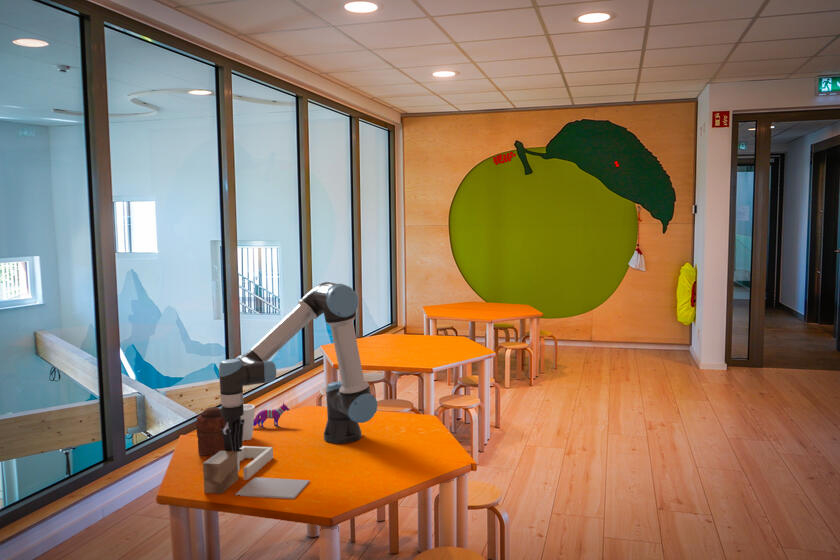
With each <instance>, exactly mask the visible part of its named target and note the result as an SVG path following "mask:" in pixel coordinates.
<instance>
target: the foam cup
mask: <svg viewBox="0 0 840 560" xmlns="http://www.w3.org/2000/svg"><path fill="white" fill-rule="evenodd" d="M242 404H243V409H244V414H243V415H242V416H241V419H244V425H243V439H242V442H245V441H244V440H247V441H250V440H252V439H253V433H254V426H253V424H254V419H255V413H256V406H255V405H254V404H250V403H247V404H246V403H242ZM251 438H252V439H251Z"/></svg>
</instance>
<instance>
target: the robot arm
mask: <svg viewBox="0 0 840 560" xmlns="http://www.w3.org/2000/svg"><path fill="white" fill-rule="evenodd" d="M358 297H359V296H358V295H357V293H356V292H355V290H354V289H353V288H352V287H350V286H348V285H346V284H345V283H344V284H343V283H336V282H335V283H334V282H328V281H326V282H322V283H319V284H318V285H316V286H314V287H313V288H312V289H310V290H309V291H308V292H307V293H306V294H305V295H303V297H302V298H300V299H299V300H298V305H297V306H296V307H294V308H293V309H292V310H291V311H290V312H289V313H288V314H287V315H286V316H284V318H282V320H281V321H280V322H278V324H276V325H275V326H274V327H273V328H272V329H271V330H270V331H268V333H267V334H266V335H264V336H263V337H262V338H261V339H260V340H259V341H258V342H257V343H256V344H255V345H253V347H252V348H250V349H249V350H247V352H246V353H244V354H240V355H238V356H237V357H235V358H233V359H224V360H222V361H220V363H219V367H218V371H219V372H218V376H219V377H218V379H219V391H220V394H219V397H220V405H221V406H220V409H221V416H222V417H224V418H225V428H224V429H221V433H222V435H223V439H224V445H225V450H226V451H237V464H238V472H239V471H240V470H241V469H240V462H239V451H242V449H240V448H242V446H243V441H242V439H243V425H244V419H241V416H242V415H243V414H244V409H243V404H244V393H243V392H244V391H243V390H244V389H243V387H244V386H252V385H258V384H260V385H261V384H267V383H271V382H274V381H275V380H276V377H277V369H276V368H277V367H276V364H275V362H273V361H272V360H271V358H272V357H273V356H274V355H275V354H277V353H278V351H280V350H281V349H282V348H284V346H285V345H287V343H288V342H289V341H290V340H291V339H293V338H294V337H295V335H296V334H298V333H299V332H300V331H302V329H303V328H304V327H305V326H306V325H307V324H309V323H310V322H311V321H312V320H317V319H318V318H319V317H320V316H321V315H323V316H324V320H325V323H326V324H327V325H329V326H330V330H331V335H332V340H333V345H334V351H335V356H336V359H337V361H336V362H337V365H338V371H339V375H340V380H339V381H338V380H337V381H332V382H330V383H328V384H327V385H326V391H325V393H326V410H327V411H326V413H327V421H326V424H325V428H324V431H323V440H324V441H325V442H328V443H330V444H338V445H339V444H348V443H349V444H350V443H354V442H357V441H359V440H360V439H361V438H362V429H361V427H360V424H364V423H367V422H369V421H370V420H372V418H374V416H375V414H376V413H377V410H378V400H377V398H376V397H375V396H374V395H373V394H371V389H370V388H371V387H370V384H369V382H368V381H366V380H365V377H364V373H363V368H362V362H361V357H360V352H359V346H358V341H357V335H356V332H355V331H356V330H355V325H354V320H355V319H356V318H357V315H356V314H357V313H356V311H357V309H358V306H359V299H358ZM359 423H360V424H359Z"/></svg>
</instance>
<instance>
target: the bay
mask: <svg viewBox="0 0 840 560" xmlns="http://www.w3.org/2000/svg"><path fill="white" fill-rule="evenodd" d="M273 448H274V447H273V446H256V445H255V446H253V445H252V446H251V445H250V446H249V445H242V448H240V449H242V451H239V463H241V462H242V461H243V460H245V459H253V460H251V461H250V462H249V463H248V464H247V465H245V466H244V467H242V470H243V472H242V473H243V474H242V475H243V480H244V481H245V480H246V481H247V480H250V478H252V477H253V476H254V475H256V474H257V472H259V471H260V470H261V469H263V467H264V466H266V464H268V463H269V462H270V461H272V459H274V449H273ZM240 461H241V462H240ZM267 462H268V463H267ZM259 469H260V470H259Z"/></svg>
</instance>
